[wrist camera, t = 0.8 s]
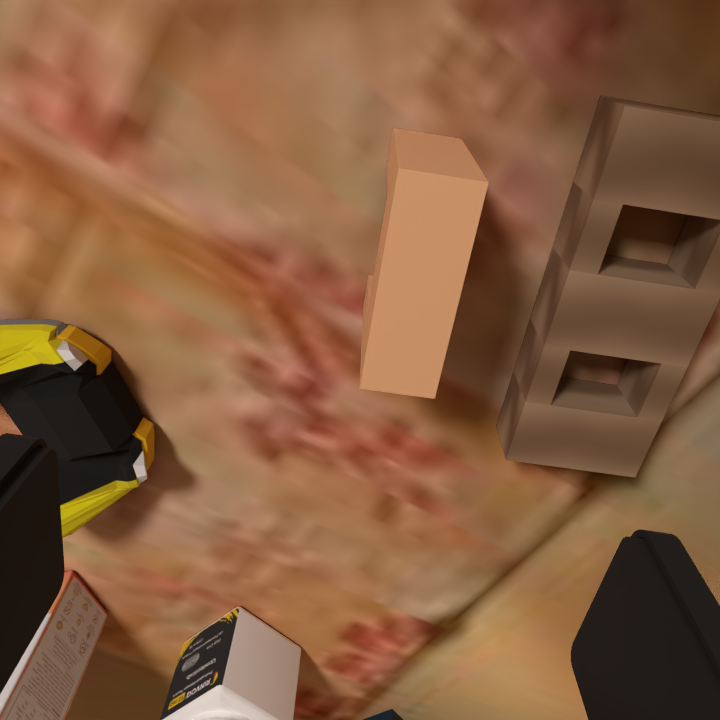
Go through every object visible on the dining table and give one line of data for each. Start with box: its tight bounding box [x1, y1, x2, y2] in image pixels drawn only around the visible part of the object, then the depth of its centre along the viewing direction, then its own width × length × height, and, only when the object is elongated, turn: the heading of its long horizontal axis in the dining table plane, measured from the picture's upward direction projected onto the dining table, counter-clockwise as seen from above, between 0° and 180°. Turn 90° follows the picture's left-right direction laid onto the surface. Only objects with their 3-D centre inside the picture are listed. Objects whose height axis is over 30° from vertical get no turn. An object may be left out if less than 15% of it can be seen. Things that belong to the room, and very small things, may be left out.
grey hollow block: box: [496, 96, 720, 477], centre depth 34 cm, size 20×8×4 cm, turn 171°
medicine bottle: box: [160, 606, 301, 720], centre depth 47 cm, size 7×7×12 cm
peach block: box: [360, 128, 489, 399], centre depth 30 cm, size 10×4×9 cm, turn 171°
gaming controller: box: [0, 319, 155, 538], centre depth 38 cm, size 15×6×10 cm
